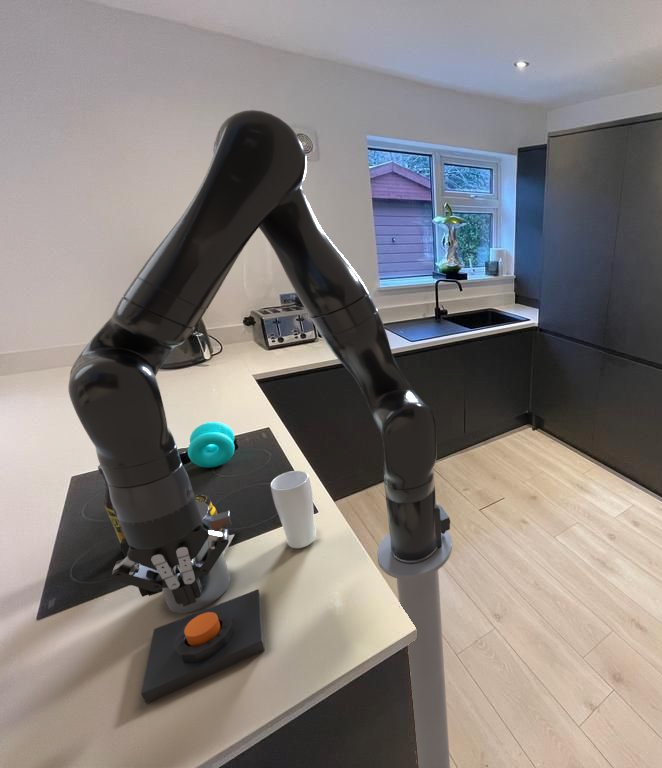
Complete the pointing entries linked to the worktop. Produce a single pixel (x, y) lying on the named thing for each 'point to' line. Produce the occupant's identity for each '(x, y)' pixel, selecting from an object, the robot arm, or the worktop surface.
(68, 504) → the worktop surface
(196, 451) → the turquoise yo-yo
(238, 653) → the black base plate
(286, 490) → the drinking glass
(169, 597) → the kettle
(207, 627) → the button
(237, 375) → the worktop surface
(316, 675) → the worktop surface
